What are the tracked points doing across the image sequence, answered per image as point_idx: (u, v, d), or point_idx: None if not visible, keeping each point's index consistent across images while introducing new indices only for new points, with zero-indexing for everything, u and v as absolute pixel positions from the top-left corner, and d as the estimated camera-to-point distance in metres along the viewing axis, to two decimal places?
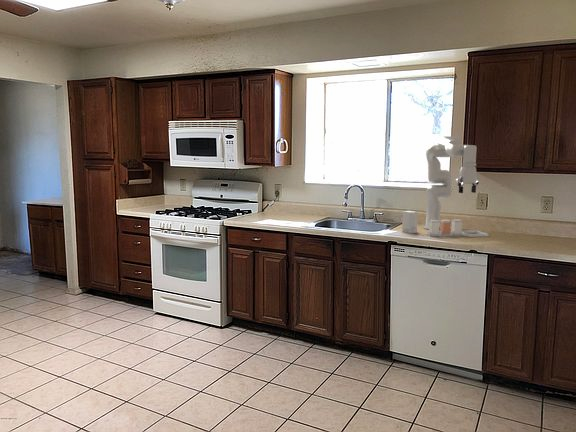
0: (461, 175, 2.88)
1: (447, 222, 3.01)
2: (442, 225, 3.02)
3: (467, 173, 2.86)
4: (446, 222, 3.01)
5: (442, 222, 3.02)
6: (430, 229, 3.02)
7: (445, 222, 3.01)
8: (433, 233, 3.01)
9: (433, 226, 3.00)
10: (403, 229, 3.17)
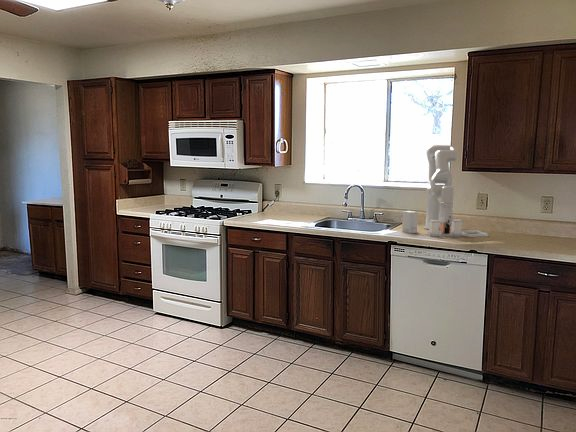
0: (449, 215, 2.98)
1: (447, 222, 3.01)
2: (442, 225, 3.02)
3: None
4: None
5: (442, 222, 3.02)
6: (430, 229, 3.02)
7: None
8: (433, 233, 3.01)
9: (433, 226, 3.00)
10: (403, 229, 3.17)
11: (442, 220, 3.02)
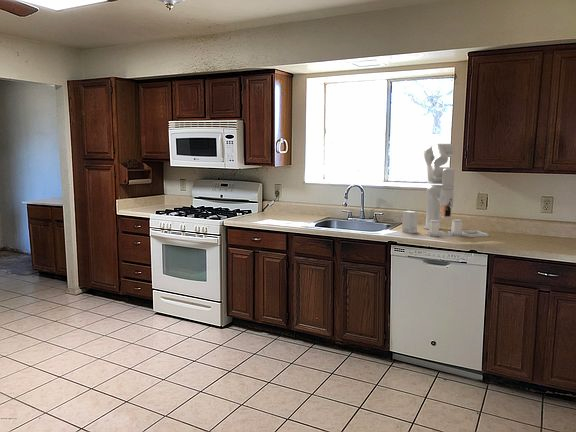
0: (450, 198, 2.96)
1: None
2: (443, 208, 3.01)
3: None
4: None
5: (443, 205, 3.01)
6: (430, 229, 3.02)
7: None
8: (433, 233, 3.01)
9: (433, 226, 3.00)
10: (403, 229, 3.17)
11: (443, 203, 3.00)
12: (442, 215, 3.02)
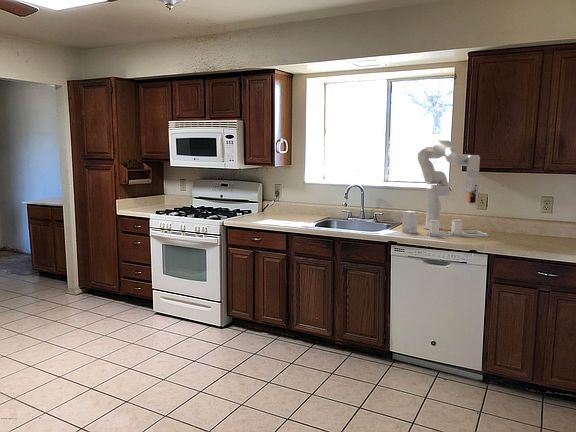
0: (475, 184, 2.97)
1: (473, 191, 3.01)
2: (468, 194, 3.02)
3: None
4: None
5: (468, 191, 3.02)
6: (430, 229, 3.02)
7: None
8: (433, 233, 3.01)
9: (433, 226, 3.00)
10: (403, 229, 3.17)
11: (468, 189, 3.01)
12: (467, 202, 3.03)
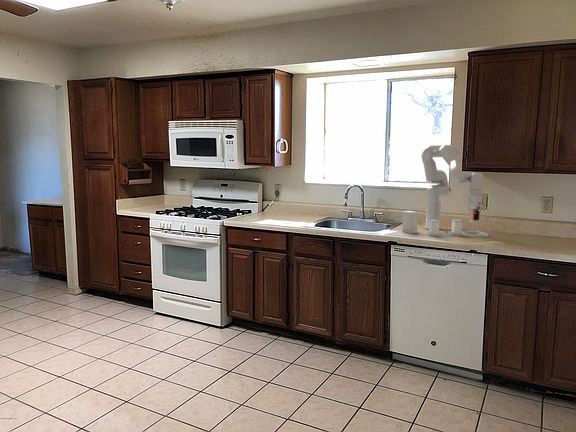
0: (479, 202, 3.00)
1: None
2: (471, 212, 3.04)
3: None
4: None
5: (471, 209, 3.04)
6: (430, 229, 3.02)
7: None
8: (433, 233, 3.01)
9: (433, 226, 3.00)
10: (403, 229, 3.17)
11: (471, 207, 3.03)
12: (471, 219, 3.05)
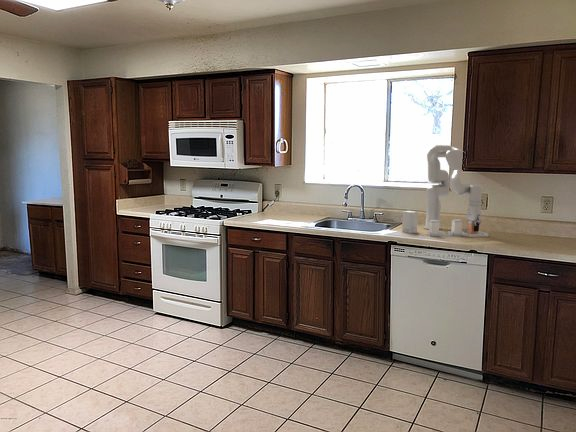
0: (478, 214, 3.01)
1: None
2: (470, 226, 3.06)
3: None
4: (474, 223, 3.05)
5: (470, 223, 3.06)
6: (430, 229, 3.02)
7: (473, 223, 3.05)
8: (433, 233, 3.01)
9: (433, 226, 3.00)
10: (403, 229, 3.17)
11: (470, 218, 3.05)
12: (469, 233, 3.07)
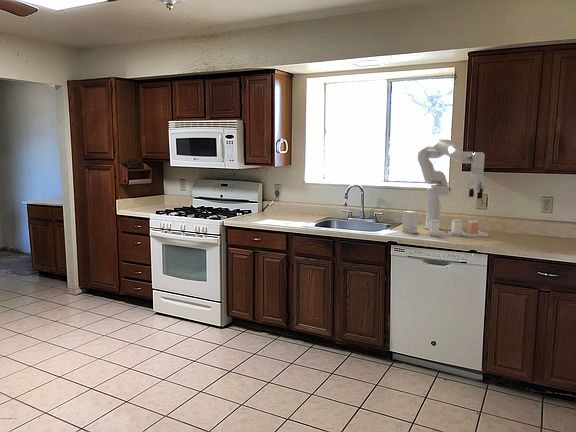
0: (480, 181, 2.98)
1: (475, 223, 3.05)
2: (470, 226, 3.06)
3: None
4: (474, 223, 3.05)
5: (470, 223, 3.06)
6: (430, 229, 3.02)
7: (473, 223, 3.05)
8: (433, 233, 3.01)
9: (433, 226, 3.00)
10: (403, 229, 3.17)
11: (473, 186, 3.02)
12: (469, 233, 3.07)
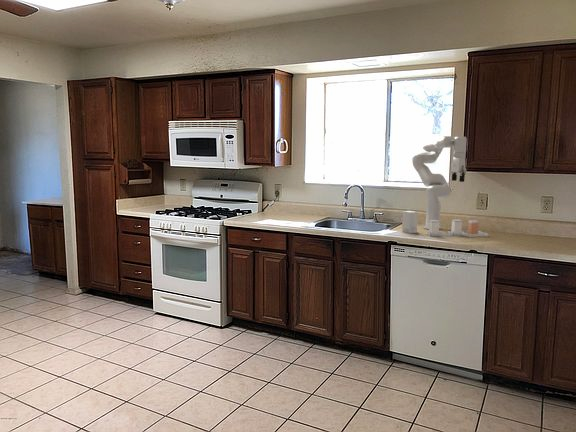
0: (462, 165, 3.04)
1: (475, 223, 3.05)
2: (470, 226, 3.06)
3: None
4: (474, 223, 3.05)
5: (470, 223, 3.06)
6: (430, 229, 3.02)
7: (473, 223, 3.05)
8: (433, 233, 3.01)
9: (433, 226, 3.00)
10: (403, 229, 3.17)
11: (455, 170, 3.08)
12: (469, 233, 3.07)
